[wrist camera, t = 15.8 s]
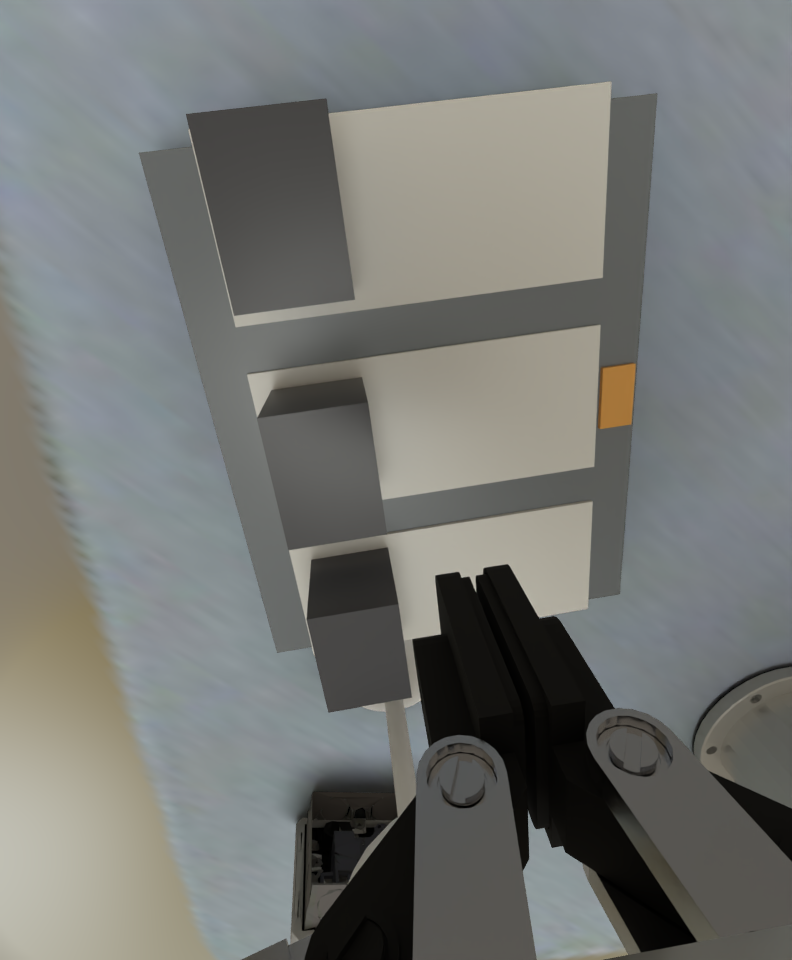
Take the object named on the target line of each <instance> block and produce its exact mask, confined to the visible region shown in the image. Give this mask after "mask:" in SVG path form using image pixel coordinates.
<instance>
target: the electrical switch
mask: <svg viewBox="0 0 792 960" xmlns="http://www.w3.org/2000/svg"><path fill="white" fill-rule="evenodd" d="M331 797H333V798H331ZM330 798H331V799H330ZM344 799H346V800H344ZM348 804H349V805H348ZM373 805H374V806H373ZM349 806H350V811H349V813H348V815H347V817H346V814H347V811H348V808H349ZM372 806H373V807H372ZM371 807H372V816H371ZM359 808H364V809H365V812H366V818H354V814H355V811H356V810H357V809H359ZM321 809H322V812H321ZM372 817H373V818H374V819H373V818H372ZM395 817H396V818H398V814H397V805H396V797H395V793H354V792H313V795H312V799H311V807H310V808H309V810H308V818H302V819H301V820H300V821H299V822H298V823H297V824H296V840H295V860H294V881H293V902H292V923H291V944H292V943H294V942H296V941H299V940H301V939H303V938H305V937H307V936H309V935H311V934H313V932H314V930H315V929H316V927H317V925H318V924H319V922H320V920H321V919H322V917H323V916H324V915H325V913H326V912H327V911H328V909H329V908H330V907H331V906H332V904H333V903H334V902H335V900H336V899H337V898H338V896H339V895H340V894H341V892H342V891H343V890H344V889H345V887H346V886H347V884H348V882H349V880H350V877H351V875H352V873H353V870H354V868H355V867H356V865H357V863H358V862H359V860H360V858H361V856H362V855H363V853H364V851H365V850H366V848H367V847H368V846H369V845H370V844H371V843H372V842H373V840H374V839H375V838H376V837H377V836H378V835H379V834H380V833H381V832H382V831H383V830H384V829H385V828H386V827H387V826H388V824H389V823H390V822H391V821H393V820H394V819H396V818H395Z"/></svg>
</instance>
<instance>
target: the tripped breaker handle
mask: <svg viewBox="0 0 792 960" xmlns="http://www.w3.org/2000/svg"><path fill="white" fill-rule="evenodd" d="M257 422H258V426H259V430H260V434H261V438H262V442H263V447H264V451H265V455H266V459H267V463H268V467H269V472H270V476H271V480H272V484H273V488H274V492H275V497H276V501H277V505H278V509H279V513H280V518H281V522H282V526H283V530H284V534H285V538H286V543H287V547H288V550H293V549H299V548H306V547H312V546H318V545H324V544H330V543H337V542H343V541H349V540H355V539H362V538H368V537H374V536H380V535H387V530H386V523H385V516H384V509H383V502H382V495H381V488H380V481H379V474H378V467H377V460H376V453H375V447H374V440H373V433H372V426H371V419H370V412H369V405H368V400H367V396H366V392H365V387H364V383H363V379H362V377H359V378H352V379H345V380H338V381H331V382H324V383H317V384H310V385H303V386H296V387H289V388H282V389H275V390H271V392H270V394H269V396H268V398H267V400H266V402H265V403H264V405H263V407H262V409H261V411H260V413H259V415H258V417H257Z"/></svg>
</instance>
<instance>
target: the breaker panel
mask: <svg viewBox="0 0 792 960" xmlns="http://www.w3.org/2000/svg"><path fill="white" fill-rule="evenodd" d="M656 105H657V93H656V94H648V95H639V96H630V97H622V98H613V99H611V82H603V83H594V84H585V85H576V86H567V87H559V88H550V89H541V90H532V91H523V92H514V93H505V94H496V95H488V96H479V97H470V98H461V99H452V100H443V101H434V102H425V103H417V104H408V105H399V106H390V107H381V108H372V109H363V110H354V111H346V112H337V113H328V107H327V100H326V99H318V100H309V101H300V102H291V103H282V104H273V105H264V106H255V107H246V108H237V109H228V110H219V111H210V112H201V113H192V114H186V116H187V120H188V125H189V129H188V130H189V134H190V139H191V143H192V147H185V148H177V149H168V150H159V151H151V152H142V153H139V155H140V159H141V162H142V166H143V170H144V173H145V177H146V180H147V184H148V188H149V191H150V195H151V198H152V202H153V206H154V209H155V213H156V216H157V220H158V224H159V227H160V231H161V235H162V238H163V242H164V245H165V249H166V253H167V256H168V260H169V263H170V267H171V271H172V274H173V278H174V282H175V285H176V289H177V292H178V296H179V300H180V303H181V307H182V310H183V314H184V318H185V321H186V325H187V328H188V332H189V336H190V339H191V343H192V347H193V350H194V354H195V357H196V361H197V365H198V368H199V372H200V375H201V379H202V383H203V386H204V390H205V394H206V397H207V401H208V404H209V408H210V412H211V415H212V419H213V422H214V426H215V430H216V433H217V437H218V441H219V444H220V448H221V451H222V455H223V459H224V462H225V466H226V469H227V473H228V477H229V480H230V484H231V487H232V491H233V495H234V498H235V502H236V506H237V509H238V513H239V516H240V520H241V524H242V527H243V531H244V534H245V538H246V542H247V545H248V549H249V553H250V556H251V560H252V563H253V567H254V571H255V574H256V578H257V581H258V585H259V589H260V592H261V596H262V599H263V603H264V607H265V610H266V614H267V618H268V621H269V625H270V628H271V632H272V636H273V639H274V643H275V646H276V650H277V653H279V652H285V651H291V650H297V649H303V648H308V647H312V649H313V653H314V656H315V658H316V662H317V666H318V670H319V675H320V679H321V683H322V687H323V691H324V696H325V700H326V704H327V708H328V712H334V711H340V710H346V709H351V708H357V707H362V706H368V705H374V704H379V703H385V702H390V701H396V700H401V699H407V698H412V694H411V687H410V680H409V673H408V666H407V659H406V652H405V645H404V640H410V639H415V638H422V637H428V636H433V635H439V634H441V630H440V621H439V611H438V602H437V593H436V583H435V575H440V574H447V573H453V572H459V573H460V575H461V577H462V578H463V577H470V579H471V581H472V584H473V586H474V589H475V591H476V575H482V574H483V569H484V568H485V567H492V566H498V565H505V564H508V565H509V566H510V567H511V569H512V571H513V573H514V575H515V576H516V578H517V580H518V582H519V583H520V585H521V587H522V589H523V590H524V592H525V594H526V596H527V598H528V599H529V601H530V603H531V605H532V606H533V608H534V610H535V612H536V613H537V615H538V617H544V616H549V615H555V614H561V613H567V612H572V611H578V610H584V609H588V599H594V598H600V597H606V596H612V595H617V594H620V584H621V571H622V557H623V544H624V531H625V517H626V504H627V491H628V477H629V464H630V451H631V438H632V424H633V411H634V398H635V384H636V371H637V358H638V344H639V331H640V318H641V305H642V291H643V278H644V265H645V251H646V238H647V225H648V211H649V198H650V185H651V172H652V158H653V145H654V132H655V118H656ZM359 377H362V379H363V383H364V387H365V392H366V396H367V400H368V405H369V412H370V419H371V426H372V433H373V440H374V447H375V453H376V460H377V467H378V474H379V481H380V488H381V495H382V502H383V509H384V516H385V523H386V530H387V535H380V536H374V537H368V538H362V539H355V540H349V541H343V542H337V543H330V544H324V545H318V546H312V547H306V548H299V549H293V550H288V547H287V543H286V538H285V534H284V530H283V526H282V522H281V518H280V513H279V509H278V505H277V501H276V497H275V492H274V488H273V484H272V480H271V476H270V472H269V467H268V463H267V459H266V455H265V451H264V447H263V442H262V438H261V434H260V430H259V426H258V422H257V417H258V415H259V413H260V411H261V409H262V407H263V405H264V403H265V402H266V400H267V398H268V396H269V394H270V392H271V390H275V389H282V388H289V387H296V386H303V385H310V384H317V383H324V382H331V381H338V380H345V379H352V378H359Z"/></svg>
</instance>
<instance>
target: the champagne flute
mask: <svg viewBox="0 0 792 960" xmlns="http://www.w3.org/2000/svg"><path fill="white" fill-rule="evenodd" d="M404 645H405V652H406V659H407V666H408V673H409V680H410V687H411V694H412V698H407V699H401V700H396V701H390V702H385V703H379V704H374V705H368V706H362V707H364V708H366V709H369V710H374V711H383V712H386V718H387V726H388V735H389V744H390V753H391V761H392V770H393V779H394V788H395V797H396V805H397V814H398V818H399V817H400V815H401V814H402V813H403V811H404V810H405V809H406V807H407V806H408V805H409V804H410V802H411V801H412V800H413V798H414V797H415V796H416V779H415V772H414V766H413V759H412V753H411V747H410V740H409V734H408V728H407V721H406V715H405V708H407V707H410V706H412V705H414V704H416V703H418V702H419V701H421V698H420V692H419V685H418V679H417V672H416V665H415V658H414V650H413V642H412V639H410V640H404ZM398 818H396V819H394V820H393V821H391V822H390V823H389V824H388V826H387V827H386V828H385V829H384V830H383V831H382V832H381V833H380V834H379V835H378V836H377V837H376V838H375V839H374V840H373V842H372V843H371V844H370V845H369V846H368V847H367V848H366V850H365V851H364V853H363V855H362V856H361V858H360V860H359V862H358V863H357V865H356V867H355V868H354V870H353V873H352V875H351V877H350V880H349V882H350V881H351V879H352V878H353V877H354V875H355V874H356V873H357V872H358V870H359V869H360V868H361V866H362V865H363V864H364V862H365V861H366V860H367V858H368V857H369V856H370V855H371V853H372V852H373V851H374V849H375V848H376V847H377V845H378V844H379V843H380V841H381V840H382V839H383V838H384V836H385V835H386V834H387V832H388V831H389V830H390V828H391V827H392V826H393V824H394V823H395V822H396V821H397V819H398ZM349 882H348V883H349ZM347 885H348V884H347Z"/></svg>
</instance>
